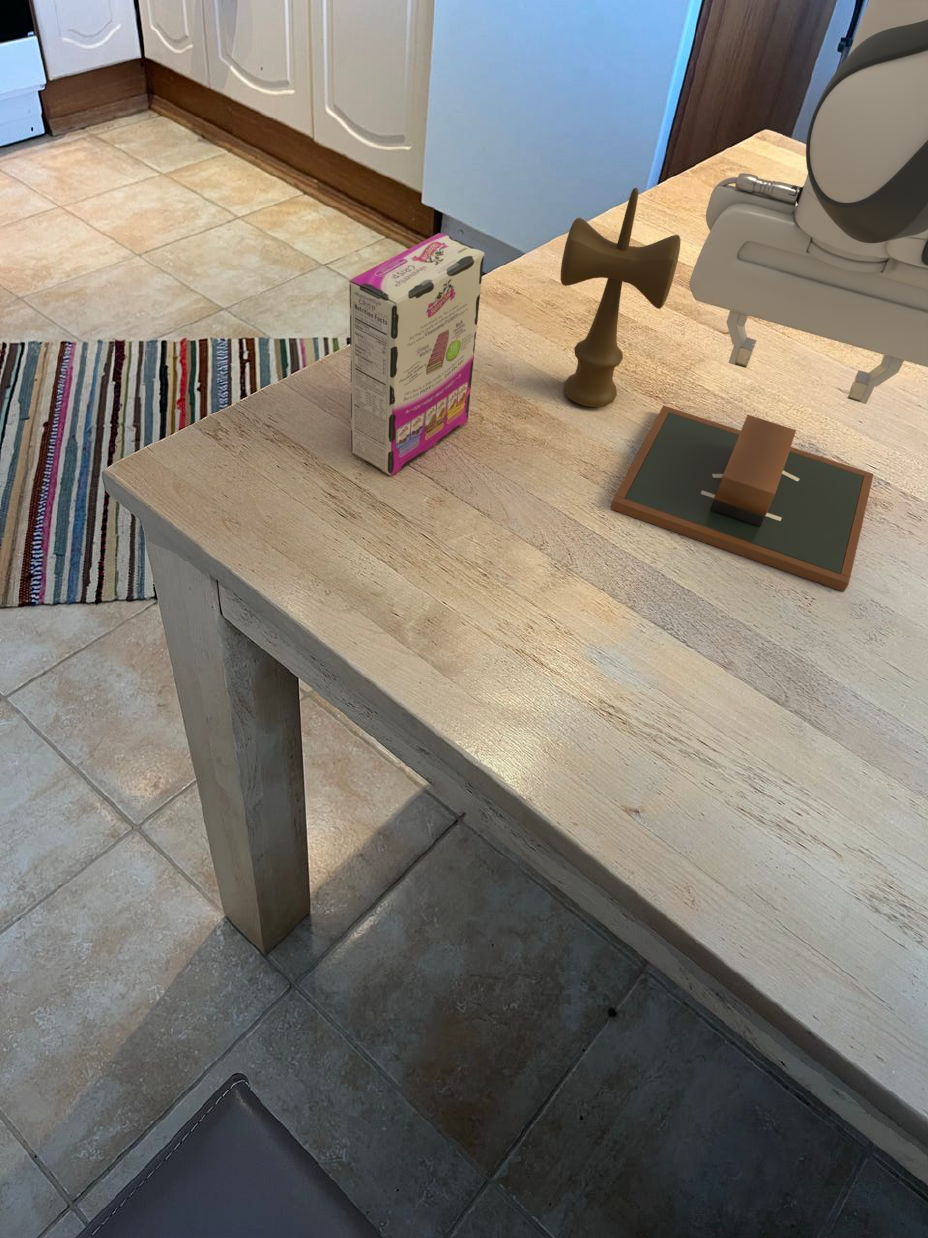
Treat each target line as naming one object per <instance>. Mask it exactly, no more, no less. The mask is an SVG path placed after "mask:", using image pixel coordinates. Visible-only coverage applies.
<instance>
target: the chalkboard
mask: <svg viewBox="0 0 928 1238" xmlns="http://www.w3.org/2000/svg"><path fill="white" fill-rule="evenodd" d="M661 407H662V408H661V409H660V410H659V413H658V414H657V417H656V418H655V420H654V422H653V424H652V426H651V428H650V429H649V431H648V433H647V435H646V437H645V439H644V441H643V442H642V444H641V446H640V448H639V450H638V452H637V454H636V456H635V458H634V460H633V461H632V463H631V465H630V467H629V469H628V471H627V473H626V475H625V476H624V479H622V482H621V484H620V485H619V487H618V490H617V491H616V493H615V496H614V497H613V499H612V502H611V505H610V510H612V511H616V512H618V513H620V514H623V515H626V516H630V517H631V518H635V519H636V520H637V519H638V520H641V521H642V522H646V523H648V524H651V525H653V526H657V527H659V528H663V529H666V530H668V531H670V532H674V533H676V534H680V535H682V536H684V537H685V536H686V537H688V538H691V539H693V540H697V541H700V542H703V543H705V544H708V545H710V546H713V547H716V548H719V549H722V550H724V551H728V552H730V553H733V554H736V555H738V556H741V557H745V558H747V559H750V560H754V561H756V562H758V563H761V564H763V565H768V566H769V567H771V568H776V569H779V570H782V571H784V572H787V573H789V574H793V575H795V576H798V577H801V578H804V579H806V580H809V581H812V582H815V583H818V584H821V585H823V586H826V587H829V588H832V589H835V590H838V591H840V592H846V590H847V588H848V586H849V584H850V580H851V576H852V573H853V567H854V562H855V559H856V554H857V550H858V545H859V541H860V537H861V532H862V528H863V523H864V518H865V514H866V511H867V505H868V501H869V496H870V492H871V488H872V483H873V478H874V473H872V472H869V471H866V470H863V469H860V468H857V467H854V466H851V465H847V464H845V463H842V462H838V461H835V460H833V459H829V458H827V457H824V456H820V455H817V454H814V453H812V452H808V451H805V450H802V449H798V448H795V447H792V446H791V448H790V451H789V454H788V457H787V460H786V463H785V466H784V469H783V472H782V475H781V478H780V481H779V484H778V487H777V490H776V493H775V495H774V498H773V500H772V502H771V505H770V507H769V509H768V511H767V514H766V516H765V518H764V521H763V523H762V525H761V527H759V526H756V525H753V524H750V523H747V522H744V521H742V520H739V519H736V518H733V517H730V516H727V515H724V514H721V513H718V512H715V511H713V510H710V508H711V505H712V503H713V500H714V497H715V495H716V492H717V489H718V487H719V484H720V481H721V479H722V476H723V474H724V471H725V469H726V466H727V464H728V461H729V459H730V456H731V454H732V452H733V449H734V447H735V444H736V442H737V439H738V437H739V434H740V432H741V430H740V429H737V428H734V427H731V426H728V425H726V424H722V423H719V422H716V421H713V420H710V419H707V418H704V417H700V416H698V415H695V414H691V413H688V412H686V411H682V410H679V409H677V408H673V407H670V406H666V405H662V406H661Z"/></svg>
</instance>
